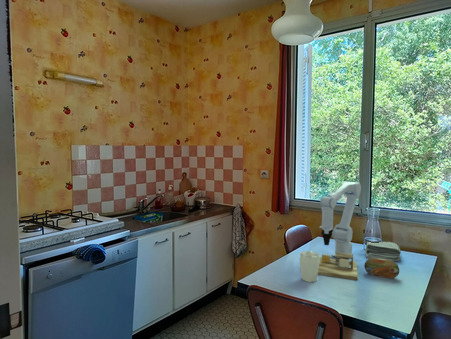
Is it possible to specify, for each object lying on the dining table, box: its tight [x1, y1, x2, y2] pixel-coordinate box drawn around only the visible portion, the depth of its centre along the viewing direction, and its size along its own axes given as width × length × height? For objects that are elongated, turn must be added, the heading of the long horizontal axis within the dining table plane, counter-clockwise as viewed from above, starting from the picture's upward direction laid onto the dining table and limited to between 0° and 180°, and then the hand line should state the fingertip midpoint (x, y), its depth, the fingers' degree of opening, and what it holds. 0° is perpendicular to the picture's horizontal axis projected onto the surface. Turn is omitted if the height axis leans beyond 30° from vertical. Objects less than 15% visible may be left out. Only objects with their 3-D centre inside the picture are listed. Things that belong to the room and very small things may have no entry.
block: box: [339, 257, 350, 267], centre depth 156 cm, size 4×4×4 cm
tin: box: [363, 258, 400, 279], centre depth 148 cm, size 15×3×8 cm, turn 62°
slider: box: [321, 254, 351, 269], centre depth 158 cm, size 6×14×4 cm, turn 68°
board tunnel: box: [317, 252, 359, 281], centre depth 157 cm, size 22×19×8 cm
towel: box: [364, 241, 402, 262], centre depth 178 cm, size 15×18×8 cm
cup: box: [299, 250, 320, 283], centre depth 143 cm, size 9×9×12 cm
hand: (326, 243), depth 165 cm, fingers open, 4 cm apart
